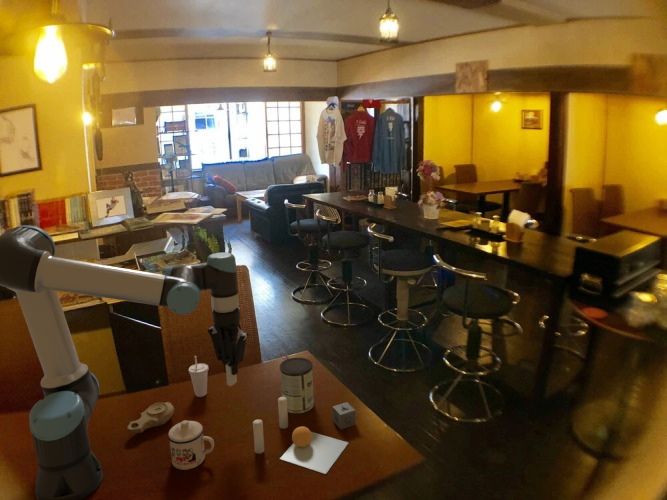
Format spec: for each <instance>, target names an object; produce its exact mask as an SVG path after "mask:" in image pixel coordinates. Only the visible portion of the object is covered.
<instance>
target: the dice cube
mask: <svg viewBox="0 0 667 500" xmlns="http://www.w3.org/2000/svg"><path fill="white" fill-rule="evenodd" d="M332 422H333V423H334V424H335V425H336V426H337V427H338V429H340V430H344V429H347V428H349V427H353V426H355V425H356V409H355V408H354V407H353V406H352V405H350V403H349V402H348V401H346V402H343V403H339V404H336V405H333V406H332Z"/></svg>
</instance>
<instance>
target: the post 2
mask: <svg viewBox="0 0 667 500" xmlns="http://www.w3.org/2000/svg"><path fill="white" fill-rule="evenodd" d="M277 406H278V407H277V409H278V424H279V425H278V426H279V428H280V429H288V427H289V417H288V416H289V415H288V413H289V412H288V411H287V398H286V397H282V396H280V397H279V398H278V399H277Z"/></svg>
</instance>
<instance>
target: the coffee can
mask: <svg viewBox="0 0 667 500" xmlns="http://www.w3.org/2000/svg"><path fill="white" fill-rule="evenodd" d="M313 365H314V364H313V362H312V361H311V360H310V359H308V358H305V357H292V358H291V357H289V359H286V360H283V361H281V363H280V364H279V370H280V371H279V372H280V385H281V397H286V398H287V411H288V413H291V414H304V413H307V412H309V411H310V410H311V409H313V408H314V406H315V402H314V401H315V399H314V378H313V377H314V374H313Z"/></svg>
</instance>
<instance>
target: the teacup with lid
mask: <svg viewBox="0 0 667 500" xmlns="http://www.w3.org/2000/svg"><path fill="white" fill-rule="evenodd" d="M167 437H168V438H167V439H168V440H169V447H170V456H171V463H172V466H173V467H174V468H175V469H177V470H182V471H183V470H184V471H187V470H191V469H194V468H197V467H199V466H200V465H201V464H202V463H203V461H204V460H205V458H206V455H207V454H210V453H211V452H212V451H213V450H214V448H215V441H214V439H213V438H212V437H211V436H207V435H204V427H203V425H202V424H201V423H200V422H198V421H196V420H182V421H181V422H178V423H177V424H174V426H172V427H171V428H170V429H169V431H168V434H167ZM204 441H207V442H209V443H210V448H207V449H205V442H204Z"/></svg>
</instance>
